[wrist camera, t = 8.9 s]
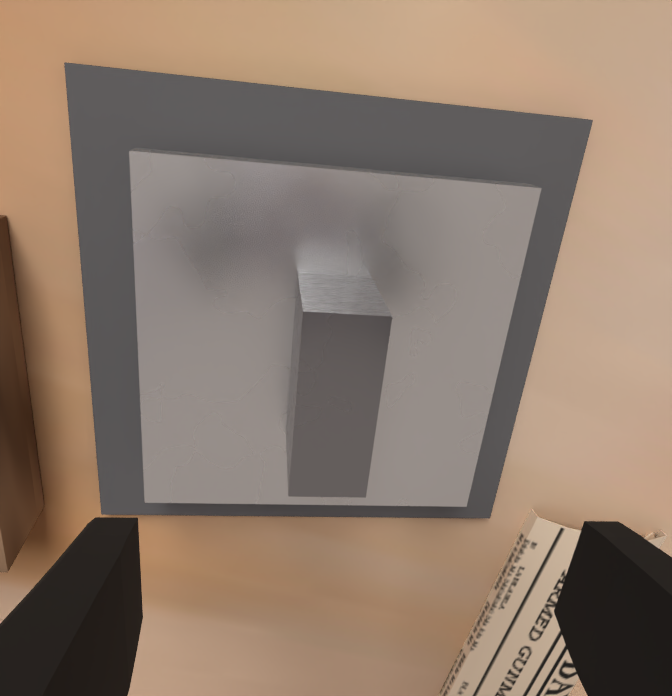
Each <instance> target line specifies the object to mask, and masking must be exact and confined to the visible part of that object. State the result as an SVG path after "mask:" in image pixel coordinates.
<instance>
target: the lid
mask: <svg viewBox="0 0 672 696" xmlns="http://www.w3.org/2000/svg"><path fill="white" fill-rule="evenodd" d="M129 160H130V183H131V205H132V228H133V251H134V273H135V296H136V319H137V341H138V364H139V387H140V409H141V432H142V455H143V477H144V500H145V503H207V504H286V505H366V506H445V507H467V503H468V498H469V494H470V490H471V486H472V481H473V477H474V473H475V469H476V465H477V460H478V456H479V452H480V448H481V443H482V439H483V435H484V431H485V426H486V422H487V418H488V414H489V409H490V405H491V401H492V397H493V392H494V388H495V384H496V380H497V375H498V371H499V367H500V363H501V358H502V354H503V350H504V346H505V341H506V337H507V333H508V329H509V324H510V320H511V316H512V312H513V307H514V303H515V299H516V295H517V290H518V286H519V282H520V278H521V273H522V269H523V265H524V261H525V257H526V252H527V248H528V244H529V240H530V235H531V231H532V227H533V223H534V218H535V214H536V210H537V206H538V201H539V197H540V193H541V189H542V188H540V187H537V186H534V185H531V184H526V183H515V182H504V181H494V180H483V179H472V178H461V177H450V176H439V175H428V174H417V173H406V172H395V171H384V170H373V169H362V168H351V167H341V166H330V165H319V164H308V163H297V162H286V161H275V160H264V159H253V158H242V157H231V156H220V155H209V154H199V153H188V152H177V151H166V150H155V149H144V148H135V149H132V150H130V151H129Z"/></svg>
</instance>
